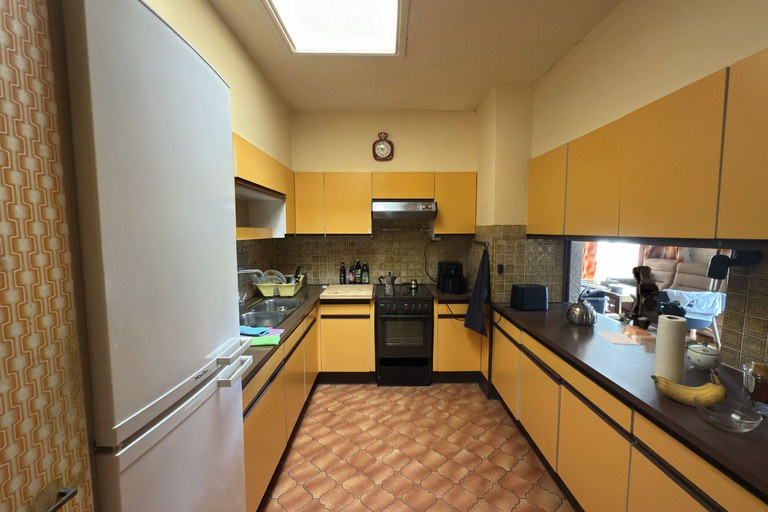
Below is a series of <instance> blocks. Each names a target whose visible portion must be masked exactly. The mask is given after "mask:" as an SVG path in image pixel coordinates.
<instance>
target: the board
mask: <svg viewBox="0 0 768 512" xmlns="http://www.w3.org/2000/svg"><path fill="white" fill-rule="evenodd" d="M622 334H624V335H625V336H627V337H629V338H630V339H632V340H634V341H635V342H637V343H639V344H640V345H639V346H643V345H642V344H641V342H640V340H639V338H638V336H639V335H634V334H632V333H631V332H629V331H627V330H626V327H623V328H622ZM656 337H657V336H656V335H653V334H652V333H650V332H648V336H642V338H643V340H644V342H645V343H648V342H652V343H654V344H655V345H656Z"/></svg>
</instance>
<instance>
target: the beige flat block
mask: <svg viewBox="0 0 768 512" xmlns="http://www.w3.org/2000/svg"><path fill="white" fill-rule="evenodd" d="M638 338H639V340H640V342H641V344H642V345H641V346H644V347H643V352H644V353H647V354H648V353H649V354H656V352H655V348H657V346H656V345H655V344H654V343H652V342H648V343H645V342H644V340H643V338H642V336H638Z"/></svg>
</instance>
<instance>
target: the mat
mask: <svg viewBox="0 0 768 512" xmlns="http://www.w3.org/2000/svg"><path fill="white" fill-rule="evenodd" d="M596 333H597V334H599V335H600V336H602V337H603V338H604V339H606V340H607V341H609V342H610V343H612V344H613V345H625V346H626V345H629V346H630V345H631V346H641V345H640V344H639V343H637V342H635V341H634V340H632V339H630V338H629V337H627V336H625V335H624V334H623V332H611V331H610V332H609V331H608V332H607V331H606V332H605V331H596Z"/></svg>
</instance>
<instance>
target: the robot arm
mask: <svg viewBox="0 0 768 512" xmlns="http://www.w3.org/2000/svg"><path fill="white" fill-rule="evenodd" d="M631 273H632V275H633V279H634V280H635V281H636V288H635V289H636V291H635V293H636V294H635V295H636V296H635V305H634V306H633V307H632V309H631V311H630V312H626V311H625V313H624V314H623V315H624V318H626V319H627V320H630V321H632V326H638V327H640V328H642V329H644V330H646V331H648V329H649V327H650V326H651V324H653V323H656V322H659V321H658V316H659V315H661V314H664V315H665V313H664V312H663V311H656V307H657V306H658V305H659V303H658V301H657V299H655V297H659V295H660V289H659V286H658V285H657V283H656V281H655V280H653V279H652V277H651V275H652V268H651V267H650V266H649V265H638V266H635V267H633V268H632V272H631Z"/></svg>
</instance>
